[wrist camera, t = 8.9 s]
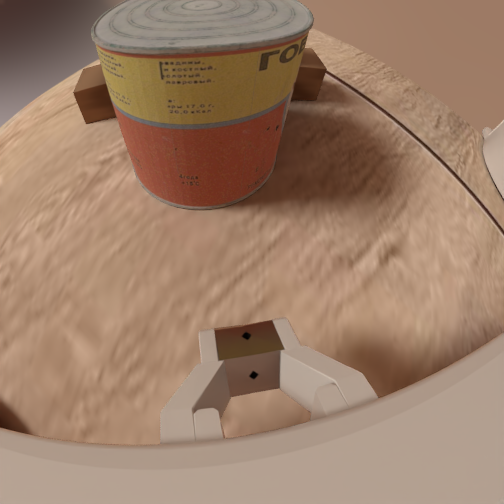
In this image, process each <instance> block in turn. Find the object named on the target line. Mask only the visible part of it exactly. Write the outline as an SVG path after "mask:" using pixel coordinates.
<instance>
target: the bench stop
mask: <svg viewBox="0 0 504 504" xmlns="http://www.w3.org/2000/svg"><path fill="white" fill-rule="evenodd" d="M326 70H327V69H326V67H325V66H324V64H323V63H322V62H321V60H320V59H319V57H318V56H317V55H316V53H315V52H314V50H313V49H311V48H304V52H303V56H302V59H301V63H300V67H299V71H298V74H297V78H296V82H295V86H294V90H293V93H292V97H291V99H292V100H316V99H317V96H318V93H319V90H320V87H321V84H322V81H323V78H324V75H325V73H326ZM73 93H74V96H75V98H76V101H77V103H78V106H79V108H80V111H81V113H82V115H83V118H84V120H85V122H86V124H87V123H91V122H95V121H99V120H103V119H108V118H112V117H116V113H115V110H114V107H113V104H112V101H111V97H110V94H109V91H108V88H107V84H106V81H105V77H104V74H103V70H102V66H101V64H100V65H96V66H93V67H89V68H86V69H83V71H82V74H81V76H80V78H79V80H78V83H77V85H76V87H75V90H74V92H73Z"/></svg>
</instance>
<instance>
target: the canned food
mask: <svg viewBox="0 0 504 504" xmlns="http://www.w3.org/2000/svg"><path fill="white" fill-rule="evenodd" d="M313 21H314V18H313V15H312V13H311V12H310V11H309V9H308V8H307V7H306V6H304V5H303V4H302V3H300V2H299V1H297V0H125V1H123V2H121V3H119V4H118V5H116V6H114V7H112V8H111V9H110V10H108V11H107V12H105V13H104V14H103V15H102V16H101V17H99V18H98V20H97V21H96V22H95V23H94V25H93V27H92V29H91V35H92V39H93V41H94V42H95V43H96V47H97V51H98V55H99V59H100V63H101V66H102V70H103V74H104V77H105V81H106V84H107V88H108V91H109V94H110V97H111V101H112V104H113V107H114V110H115V113H116V117H117V120H118V123H119V126H120V129H121V132H122V135H123V137H124V140H125V143H126V146H127V149H128V152H129V155H130V157H131V160H132V163H133V168H134V172H135V174H136V177H137V179H138V181H139V183H140V184H141V185H142V187H143V188H144V189H145V190H146V191H147V192H148V193H149V194H150V195H152V196H153V197H155V198H156V199H158V200H160V201H161V202H163V203H166V204H168V205H171V206H175V207H178V208H183V209H191V210H208V209H216V208H221V207H225V206H229V205H232V204H234V203H237V202H239V201H241V200H243V199H245V198H247V197H249V196H250V195H252V194H253V193H255V192H256V191H257V190H258V189H260V188H261V187H262V186H263V185H264V183H265V182H266V181H267V180H268V178H269V177H270V175H271V173H272V171H273V169H274V166H275V163H276V158H277V150H278V146H279V142H280V139H281V135H282V131H283V127H284V124H285V120H286V116H287V112H288V108H289V105H290V101H291V97H292V93H293V90H294V86H295V82H296V78H297V74H298V71H299V67H300V63H301V59H302V56H303V52H304V48H305V44H306V41H307V37H308V33H309V30H310V29H311V28H312V26H313Z"/></svg>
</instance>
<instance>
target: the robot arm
mask: <svg viewBox="0 0 504 504" xmlns="http://www.w3.org/2000/svg"><path fill="white" fill-rule="evenodd" d="M482 133H483V137H484V144H483V154H484V159H485V162H486V165H487V167H488V170H489V172H490V174H491V176H492V178H493V180H494V182H495V184H496V186H497V188H498V190H499V192H500V193H501V195H502V197H503V198H504V120H503V121H502V122H501V123H500V124H499V125H498V126H497V127H496V128H495V129H494V130H492V129H490V128H488V127H486V128H485V129H483V130H482ZM214 331H215V333H214ZM215 338H216V339H215ZM199 344H200V355H201V364H197V365H196V366H195V367H194V369H193V370H192V371H191V373H190V374H189V375H188V376H187V378H186V379H185V380H184V382H183V383H182V384H181V386H180V387H179V388H178V390H177V391H176V392H175V394H174V395H173V396H172V397H171V399H170V400H169V401H168V403H167V404H166V405H165V406H164V408H163V409H162V410H161V418H160V444H157V445H119V444H98V443H86V442H76V441H67V440H59V439H53V438H46V437H40V436H35V435H30V434H25V433H20V432H16V431H12V430H8V429H4V428H0V504H504V332H503V333H501V334H500V335H498V336H497V337H495V338H494V339H492V340H491V341H489V342H488V343H486V344H485V345H483V346H482V347H480V348H478V349H477V350H475V351H473V352H472V353H470V354H469V355H467V356H465V357H463V358H462V359H460V360H458V361H456V362H455V363H453V364H451V365H449V366H447V367H445V368H444V369H442V370H440V371H438V372H436V373H434V374H432V375H430V376H428V377H426V378H424V379H422V380H420V381H418V382H416V383H413V384H411V385H409V386H407V387H405V388H402V389H400V390H398V391H395V392H393V393H391V394H388V395H386V396H383V397H381V398H378V396H377V395H376V393H375V392H374V390H373V388H372V387H371V385H370V384H369V382H368V381H367V379H366V378H365V376H364V375H363V373H361V372H359V371H357V370H355V369H353V368H351V367H349V366H346V365H344V364H342V363H340V362H338V361H336V360H334V359H332V358H330V357H328V356H326V355H324V354H322V353H320V352H318V351H316V350H314V349H312V348H310V347H308V346H306V345H305V346H301V344H300V342H299V340H298V338H297V336H296V334H295V333H294V331H293V329H292V327H291V325H290V323H289V321H288V319H287V318H286V317H282V318H277V319H272V320H269V321H263V322H257V323H251V324H245V325H237V326H229V327H221V328H214V329H205V330H199ZM278 388H280V390H282V391H283V392H284V393H285V394H287V395H288V396H289V397H291V398H292V399H293V400H294V401H296V402H297V403H298V404H300V405H301V406H302V407H304V408H305V409H306V410H308V411H309V412H310V413H311V417H310V421H309V422H305V423H302V424H298V425H294V426H290V427H285V428H281V429H276V430H272V431H267V432H262V433H257V434H251V435H246V436H240V437H233V438H226V439H225V435H224V431H223V427H222V423H221V418H222V415H223V413H224V411H225V409H226V407H227V405H228V403H229V401H230V399H231V398H230V397H234V396H239V395H245V394H250V393H255V392H261V391H267V390H272V389H278Z"/></svg>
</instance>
